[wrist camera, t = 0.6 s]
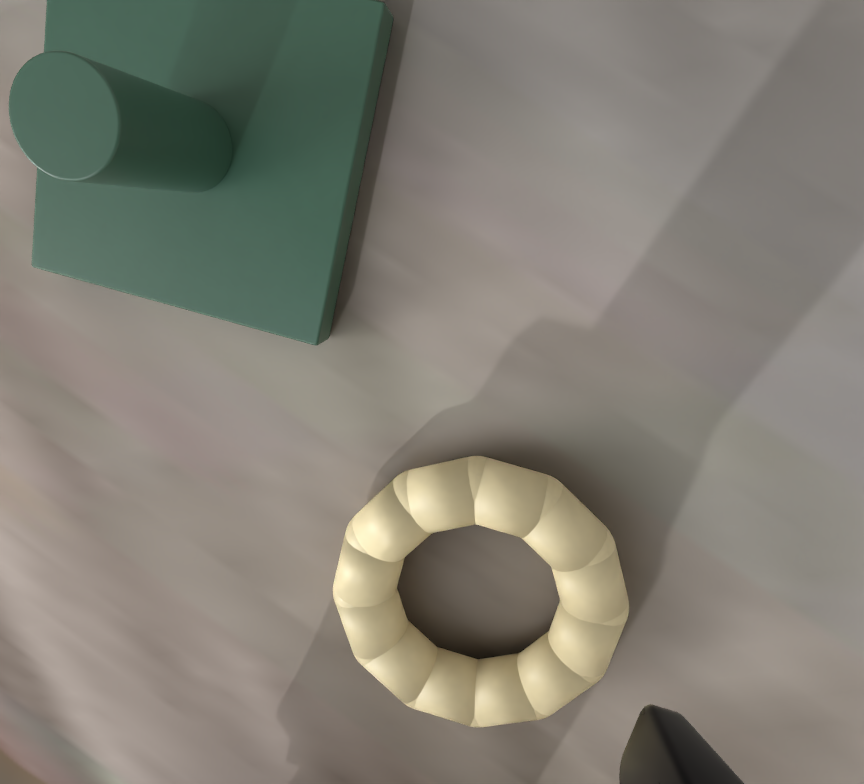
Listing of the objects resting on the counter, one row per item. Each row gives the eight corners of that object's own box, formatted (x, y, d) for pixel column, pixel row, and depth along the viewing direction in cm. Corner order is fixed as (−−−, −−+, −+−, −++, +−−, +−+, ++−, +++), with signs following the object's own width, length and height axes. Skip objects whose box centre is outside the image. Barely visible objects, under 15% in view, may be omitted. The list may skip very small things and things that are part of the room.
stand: (329, 339, 19) (243, 391, 13) (58, 264, 20) (-139, 282, 14) (394, 16, 17) (324, -96, 11) (81, -59, 17) (-149, -205, 11)
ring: (570, 726, 22) (575, 774, 20) (323, 649, 22) (304, 689, 20) (660, 496, 19) (675, 527, 17) (377, 416, 20) (362, 437, 18)
